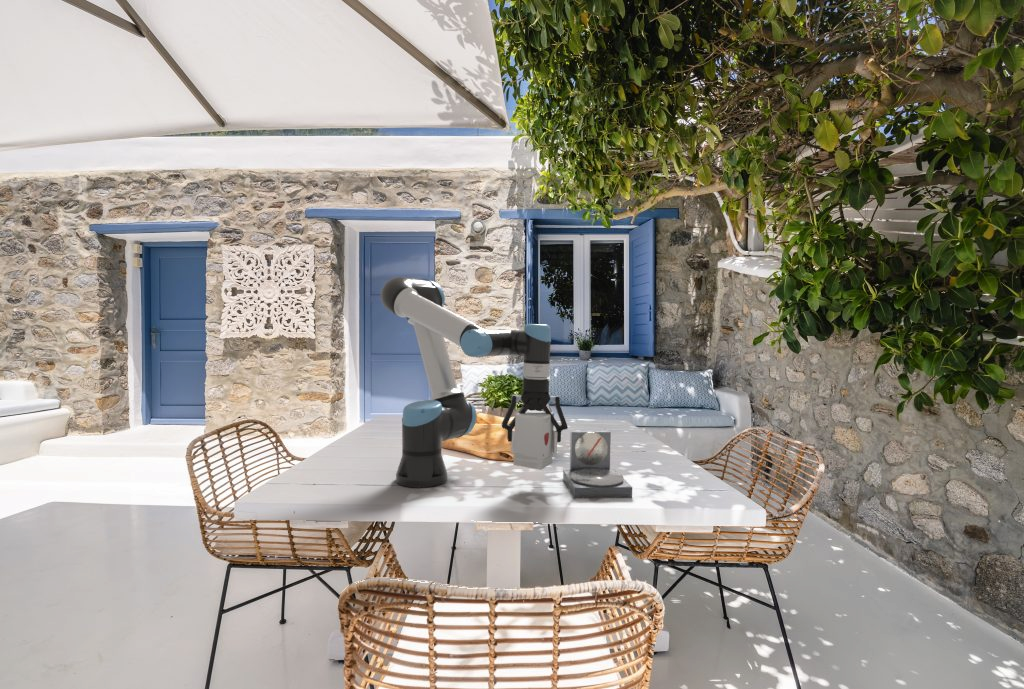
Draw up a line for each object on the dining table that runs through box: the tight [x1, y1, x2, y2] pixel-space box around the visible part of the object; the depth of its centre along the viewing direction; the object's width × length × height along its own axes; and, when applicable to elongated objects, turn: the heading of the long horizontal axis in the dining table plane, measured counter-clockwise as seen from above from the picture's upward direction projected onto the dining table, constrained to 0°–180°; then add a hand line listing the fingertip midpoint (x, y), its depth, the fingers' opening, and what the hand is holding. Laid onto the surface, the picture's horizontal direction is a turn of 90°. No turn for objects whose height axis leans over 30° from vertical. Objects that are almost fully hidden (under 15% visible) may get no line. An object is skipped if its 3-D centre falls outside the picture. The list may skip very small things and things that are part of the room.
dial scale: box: [562, 430, 633, 500], centre depth 153 cm, size 16×18×15 cm
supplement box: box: [513, 410, 555, 470], centre depth 151 cm, size 9×9×15 cm
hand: (533, 453), depth 152 cm, fingers closed on supplement box, 12 cm apart
